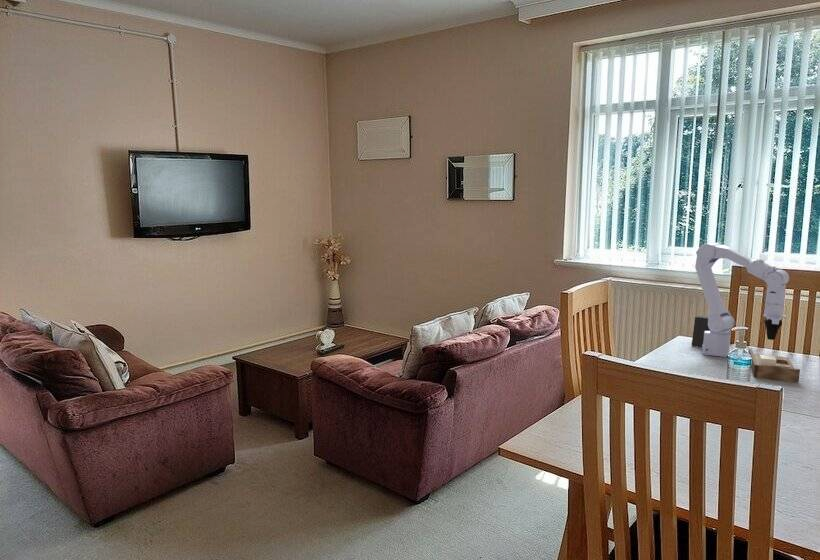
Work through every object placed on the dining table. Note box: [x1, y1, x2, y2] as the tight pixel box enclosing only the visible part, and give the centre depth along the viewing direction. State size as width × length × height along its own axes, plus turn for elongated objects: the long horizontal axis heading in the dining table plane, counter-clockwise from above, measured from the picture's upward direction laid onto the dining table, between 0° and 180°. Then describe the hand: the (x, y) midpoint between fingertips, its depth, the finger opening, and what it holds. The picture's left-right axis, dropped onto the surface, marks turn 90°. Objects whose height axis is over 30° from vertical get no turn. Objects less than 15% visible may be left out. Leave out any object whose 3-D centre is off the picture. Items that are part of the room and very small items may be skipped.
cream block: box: [759, 354, 776, 366], centre depth 200 cm, size 4×4×4 cm
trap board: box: [747, 347, 801, 383], centre depth 206 cm, size 13×25×4 cm, turn 154°
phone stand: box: [691, 315, 710, 348], centre depth 238 cm, size 9×6×12 cm, turn 145°
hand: (770, 339), depth 210 cm, fingers closed
